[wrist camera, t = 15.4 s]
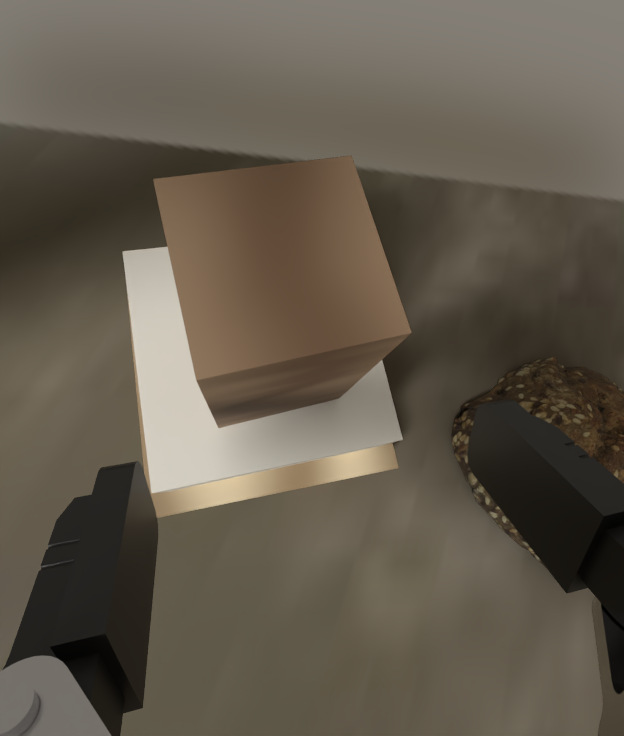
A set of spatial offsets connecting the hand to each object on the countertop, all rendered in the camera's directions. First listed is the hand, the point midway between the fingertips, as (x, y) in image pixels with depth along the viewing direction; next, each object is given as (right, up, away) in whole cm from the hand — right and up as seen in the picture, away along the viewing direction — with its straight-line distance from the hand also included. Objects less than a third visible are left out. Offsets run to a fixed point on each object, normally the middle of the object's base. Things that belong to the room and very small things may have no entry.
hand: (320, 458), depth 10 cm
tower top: (-3, +2, +12) cm, 12 cm away
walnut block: (-2, +3, +8) cm, 8 cm away
